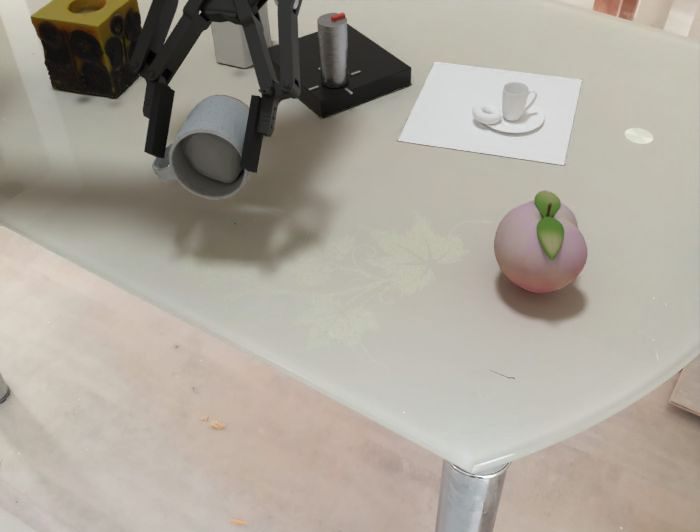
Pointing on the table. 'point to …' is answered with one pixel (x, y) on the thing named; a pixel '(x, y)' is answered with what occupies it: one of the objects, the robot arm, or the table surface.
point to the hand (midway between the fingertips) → (200, 162)
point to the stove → (364, 74)
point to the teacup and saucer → (494, 112)
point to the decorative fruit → (540, 245)
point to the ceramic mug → (208, 149)
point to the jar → (236, 41)
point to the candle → (89, 44)
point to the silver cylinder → (333, 49)
